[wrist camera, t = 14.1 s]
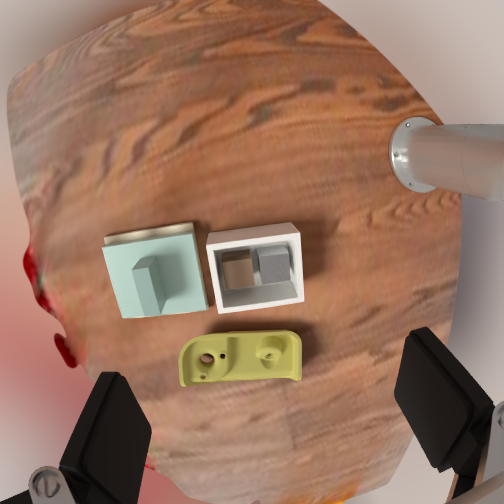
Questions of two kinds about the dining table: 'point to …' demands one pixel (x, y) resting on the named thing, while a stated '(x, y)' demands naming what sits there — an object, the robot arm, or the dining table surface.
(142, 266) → the lid
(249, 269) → the walnut block
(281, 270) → the steel block
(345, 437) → the dining table surface
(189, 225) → the board
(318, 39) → the dining table surface
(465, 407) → the robot arm
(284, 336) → the plastic component
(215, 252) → the tub
